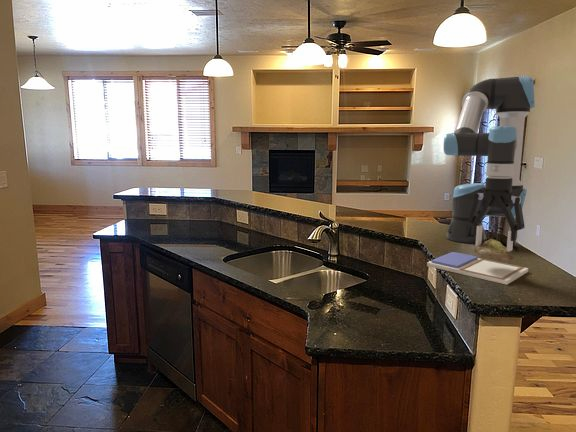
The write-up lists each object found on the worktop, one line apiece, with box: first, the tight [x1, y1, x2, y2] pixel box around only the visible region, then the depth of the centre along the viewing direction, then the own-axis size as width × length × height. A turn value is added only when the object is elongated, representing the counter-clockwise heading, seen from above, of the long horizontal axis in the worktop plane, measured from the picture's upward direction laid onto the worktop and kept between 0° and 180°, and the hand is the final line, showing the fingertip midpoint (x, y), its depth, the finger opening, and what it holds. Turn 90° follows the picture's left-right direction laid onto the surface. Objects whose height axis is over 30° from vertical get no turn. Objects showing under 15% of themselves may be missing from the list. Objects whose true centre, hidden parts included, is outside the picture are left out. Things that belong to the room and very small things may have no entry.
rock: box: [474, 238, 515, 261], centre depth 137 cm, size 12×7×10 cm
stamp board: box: [426, 251, 529, 286], centre depth 143 cm, size 17×26×2 cm, turn 43°
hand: (493, 247), depth 138 cm, fingers closed on rock, 9 cm apart
